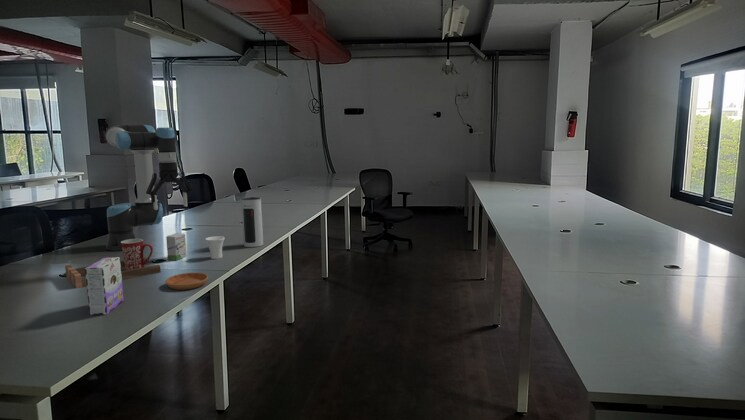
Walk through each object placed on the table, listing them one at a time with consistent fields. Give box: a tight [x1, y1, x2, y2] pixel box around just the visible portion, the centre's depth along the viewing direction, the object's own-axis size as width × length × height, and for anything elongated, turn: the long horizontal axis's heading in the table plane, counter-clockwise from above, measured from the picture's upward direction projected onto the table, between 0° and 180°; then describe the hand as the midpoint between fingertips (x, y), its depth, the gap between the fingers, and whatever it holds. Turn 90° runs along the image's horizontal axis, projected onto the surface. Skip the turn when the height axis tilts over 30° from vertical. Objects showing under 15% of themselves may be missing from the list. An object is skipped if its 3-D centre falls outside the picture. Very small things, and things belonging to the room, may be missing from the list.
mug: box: [121, 238, 154, 271], centre depth 211 cm, size 13×9×14 cm
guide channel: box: [64, 256, 161, 289], centre depth 205 cm, size 20×32×5 cm, turn 132°
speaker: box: [240, 196, 264, 248], centre depth 257 cm, size 11×10×26 cm
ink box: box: [165, 232, 188, 262], centre depth 232 cm, size 8×5×12 cm, turn 167°
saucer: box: [165, 272, 209, 291], centre depth 191 cm, size 16×16×3 cm
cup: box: [204, 235, 225, 260], centre depth 233 cm, size 9×9×10 cm
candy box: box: [85, 256, 125, 316], centre depth 165 cm, size 14×6×16 cm, turn 5°
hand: (171, 207), depth 221 cm, fingers open, 13 cm apart
